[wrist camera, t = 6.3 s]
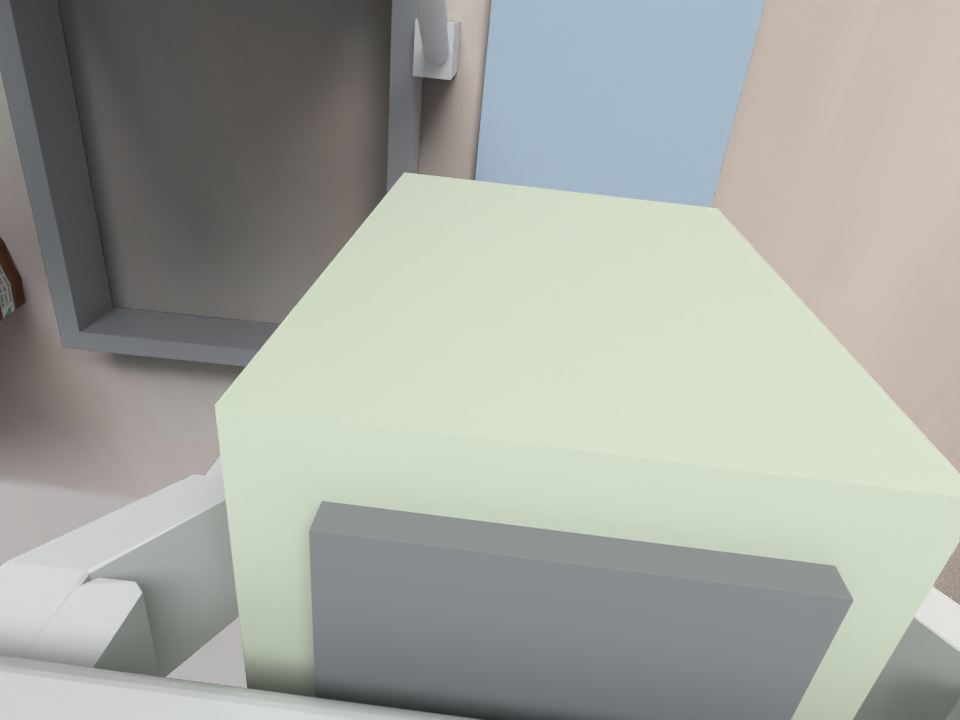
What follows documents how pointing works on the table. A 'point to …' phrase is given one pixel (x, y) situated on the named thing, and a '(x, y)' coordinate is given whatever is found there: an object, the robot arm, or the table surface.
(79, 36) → the table surface
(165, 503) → the robot arm
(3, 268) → the food container
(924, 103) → the table surface
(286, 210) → the table surface
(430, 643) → the module
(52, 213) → the case
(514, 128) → the mat
